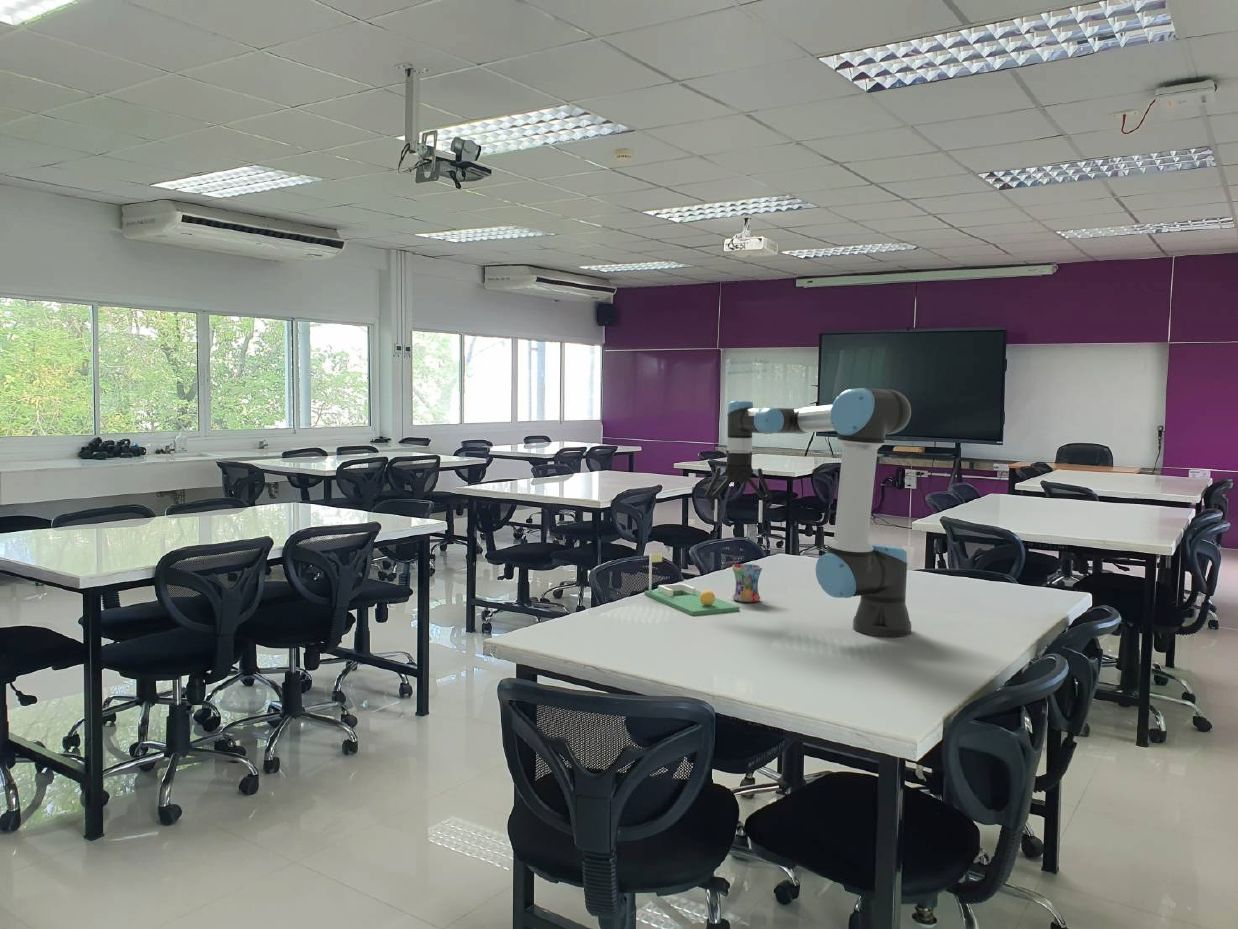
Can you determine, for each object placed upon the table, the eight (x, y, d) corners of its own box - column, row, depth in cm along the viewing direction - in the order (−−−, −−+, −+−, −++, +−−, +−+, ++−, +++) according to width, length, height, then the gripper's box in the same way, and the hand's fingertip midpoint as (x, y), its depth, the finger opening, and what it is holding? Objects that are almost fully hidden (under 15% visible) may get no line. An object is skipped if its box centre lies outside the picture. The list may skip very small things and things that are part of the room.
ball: (717, 606, 253) (718, 591, 253) (704, 607, 251) (704, 592, 251) (709, 603, 257) (710, 588, 257) (696, 604, 256) (697, 589, 255)
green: (739, 611, 253) (740, 566, 253) (691, 615, 247) (693, 569, 246) (688, 591, 280) (689, 550, 280) (644, 594, 274) (645, 553, 273)
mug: (754, 605, 261) (755, 570, 261) (726, 601, 266) (727, 567, 266) (769, 598, 272) (770, 564, 271) (742, 594, 276) (743, 561, 276)
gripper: (779, 452, 266) (777, 520, 267) (697, 450, 267) (696, 519, 268) (782, 453, 258) (780, 524, 259) (698, 451, 259) (697, 522, 261)
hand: (737, 521), depth 264 cm, fingers open, 13 cm apart
